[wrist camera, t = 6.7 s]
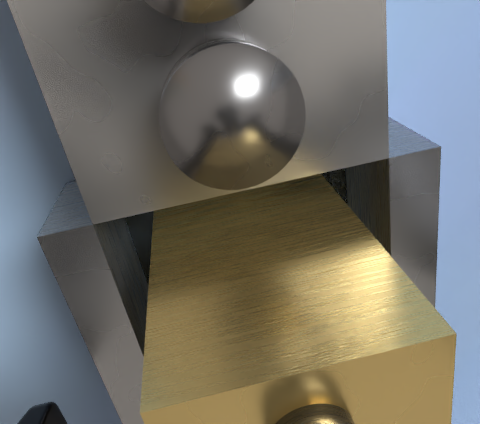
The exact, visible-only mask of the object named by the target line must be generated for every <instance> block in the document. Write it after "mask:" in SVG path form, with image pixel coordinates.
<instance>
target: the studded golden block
mask: <svg viewBox="0 0 480 424" xmlns="http://www.w3.org/2000/svg"><path fill="white" fill-rule="evenodd" d="M455 349H456V333H455V331H454V330H453V329H452V328H451V327H450V326H449V324H448V323H447V322H446V321H445V320H444V318H443V317H442V316H441V315H440V314H439V313H438V311H437V310H436V309H435V308H434V307H433V305H432V304H431V303H430V302H429V301H428V300H427V298H426V297H425V296H424V295H423V294H422V292H421V291H420V290H419V289H418V288H417V286H416V285H415V284H414V283H413V282H412V281H411V279H410V278H409V277H408V276H407V275H406V273H405V272H404V271H403V270H402V269H401V268H400V266H399V265H398V264H397V263H396V262H395V260H394V259H393V258H392V257H391V256H390V255H389V253H388V252H387V251H386V250H385V249H384V247H383V246H382V245H381V244H380V243H379V242H378V240H377V239H376V238H375V237H374V236H373V234H372V233H371V232H370V231H369V230H368V229H367V227H366V226H365V225H364V224H363V223H362V221H361V220H360V219H359V218H358V217H357V216H356V214H355V213H354V212H353V211H352V210H351V208H350V207H349V206H348V205H347V204H346V203H345V201H344V200H343V199H342V198H341V197H340V195H339V194H338V193H337V192H336V191H335V190H334V188H333V187H332V186H331V185H330V184H329V182H328V181H327V180H326V179H325V178H324V177H323V175H322V174H316V175H312V176H307V177H303V178H298V179H294V180H289V181H285V182H280V183H276V184H271V185H267V186H263V187H258V188H254V189H249V190H245V191H240V192H236V193H231V194H227V195H222V196H218V197H213V198H209V199H205V200H200V201H196V202H191V203H187V204H182V205H178V206H173V207H169V208H164V209H160V210H155V211H154V215H153V229H152V244H151V258H150V273H149V287H148V302H147V317H146V331H145V346H144V360H143V375H142V389H141V404H140V415H141V417H142V419H143V422H144V424H451V414H452V398H453V382H454V365H455Z"/></svg>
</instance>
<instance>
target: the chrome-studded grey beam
mask: <svg viewBox="0 0 480 424" xmlns="http://www.w3.org/2000/svg"><path fill="white" fill-rule="evenodd" d="M7 2H8V5H9V8H10V10H11V13H12V15H13V18H14V21H15V23H16V26H17V28H18V31H19V34H20V36H21V39H22V41H23V44H24V47H25V49H26V52H27V54H28V57H29V60H30V62H31V65H32V67H33V70H34V73H35V75H36V78H37V81H38V83H39V86H40V88H41V91H42V94H43V96H44V99H45V101H46V104H47V107H48V109H49V112H50V114H51V117H52V120H53V122H54V125H55V127H56V130H57V133H58V135H59V138H60V140H61V143H62V146H63V148H64V151H65V153H66V156H67V159H68V161H69V164H70V166H71V169H72V172H73V174H74V177H75V180H76V181H74V182H69V183H66V184H65V186H64V188H63V190H62V192H61V194H60V195H59V197H58V199H57V201H56V203H55V205H54V206H53V208H52V210H51V212H50V214H49V216H48V217H47V219H46V221H45V223H44V225H43V227H42V229H41V230H40V232H39V234H38V236H37V239H38V241H39V243H40V245H41V247H42V249H43V252H44V254H45V256H46V258H47V260H48V263H49V265H50V267H51V269H52V271H53V273H54V276H55V278H56V280H57V282H58V284H59V286H60V289H61V291H62V293H63V295H64V297H65V300H66V302H67V304H68V306H69V308H70V310H71V313H72V315H73V317H74V319H75V321H76V324H77V326H78V328H79V330H80V332H81V334H82V337H83V339H84V341H85V343H86V345H87V347H88V350H89V352H90V354H91V356H92V358H93V361H94V363H95V365H96V367H97V369H98V371H99V374H100V376H101V378H102V380H103V382H104V385H105V387H106V389H107V391H108V393H109V395H110V398H111V400H112V402H113V404H114V406H115V408H116V411H117V413H118V415H119V417H120V419H121V422H122V424H144V422H143V419H142V417H141V415H140V404H141V389H142V375H143V360H144V346H145V331H146V317H147V302H148V284H147V281H146V278H145V275H144V272H143V269H142V267H141V264H140V261H139V258H138V255H137V252H136V249H135V246H134V243H133V240H132V237H131V234H130V231H129V229H128V226H127V223H126V220H125V217H129V216H133V215H138V214H142V213H147V212H151V211H155V210H160V209H164V208H169V207H173V206H178V205H182V204H187V203H191V202H196V201H200V200H205V199H209V198H213V197H218V196H222V195H227V194H231V193H236V192H240V191H245V190H249V189H254V188H258V187H263V186H267V185H271V184H276V183H280V182H285V181H289V180H294V179H298V178H303V177H307V176H312V175H316V174H321V173H325V172H329V171H334V170H338V169H343V168H345V174H346V188H347V202H348V206H349V207H350V208H351V210H352V211H353V212H354V213H355V214H356V216H357V217H358V218H359V219H360V220H361V221H362V223H363V224H364V225H365V226H366V227H367V229H368V230H369V231H370V232H371V233H372V234H373V236H374V237H375V238H376V239H377V240H378V242H379V243H380V244H381V245H382V246H383V247H384V249H385V250H386V251H387V252H388V253H389V255H390V256H391V257H392V258H393V259H394V260H395V262H396V263H397V264H398V265H399V266H400V268H401V269H402V270H403V271H404V272H405V273H406V275H407V276H408V277H409V278H410V279H411V281H412V282H413V283H414V284H415V285H416V286H417V288H418V289H419V290H420V291H421V292H422V294H423V295H424V296H425V297H426V298H427V300H428V301H429V302H430V303H431V304H432V305H433V307H434V308H435V293H436V266H437V239H438V213H439V186H440V159H441V146H439V145H437V144H436V143H434V142H432V141H430V140H429V139H427V138H425V137H423V136H421V135H420V134H418V133H416V132H414V131H413V130H411V129H409V128H407V127H406V126H404V125H402V124H400V123H398V122H397V121H395V120H393V119H391V118H390V117H388V82H387V34H386V0H7Z"/></svg>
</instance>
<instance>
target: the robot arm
mask: <svg viewBox="0 0 480 424" xmlns="http://www.w3.org/2000/svg"><path fill="white" fill-rule="evenodd" d="M18 424H67V422H66V420H65V418H64V417H63V415H62V413H61V411H60V409H59V408H58V406H57V404H55V403H54V402H48V403H44V404H39V405H35V406H33V407H32V408H30V409H29V410H28V411H27V413H26V414H25V415H24V416H23V418H22V419H21V420H20V421H19V422H18Z"/></svg>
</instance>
